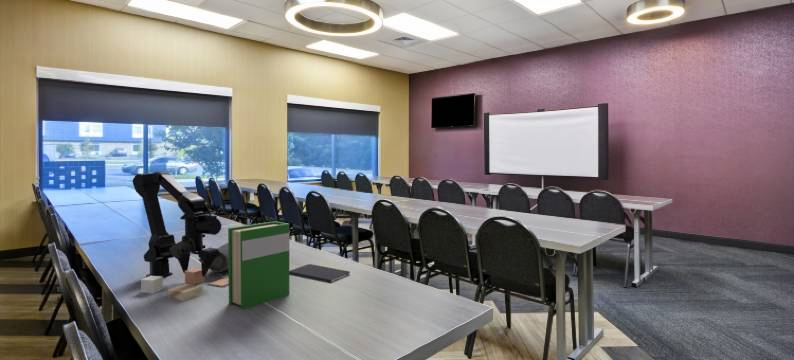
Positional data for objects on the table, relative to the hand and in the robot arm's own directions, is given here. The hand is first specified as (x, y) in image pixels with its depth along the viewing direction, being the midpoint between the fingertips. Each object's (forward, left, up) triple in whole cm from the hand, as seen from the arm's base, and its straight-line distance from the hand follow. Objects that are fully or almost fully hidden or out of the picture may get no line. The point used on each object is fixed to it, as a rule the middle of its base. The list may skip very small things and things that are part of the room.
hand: (194, 274), depth 152 cm
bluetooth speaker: (-3, +20, -3) cm, 20 cm away
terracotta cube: (0, 0, -3) cm, 3 cm away
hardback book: (+33, -4, -3) cm, 33 cm away
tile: (+10, +3, -3) cm, 11 cm away
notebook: (+35, +28, -3) cm, 45 cm away
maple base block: (+9, -12, -3) cm, 15 cm away
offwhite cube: (-5, -13, -3) cm, 14 cm away
